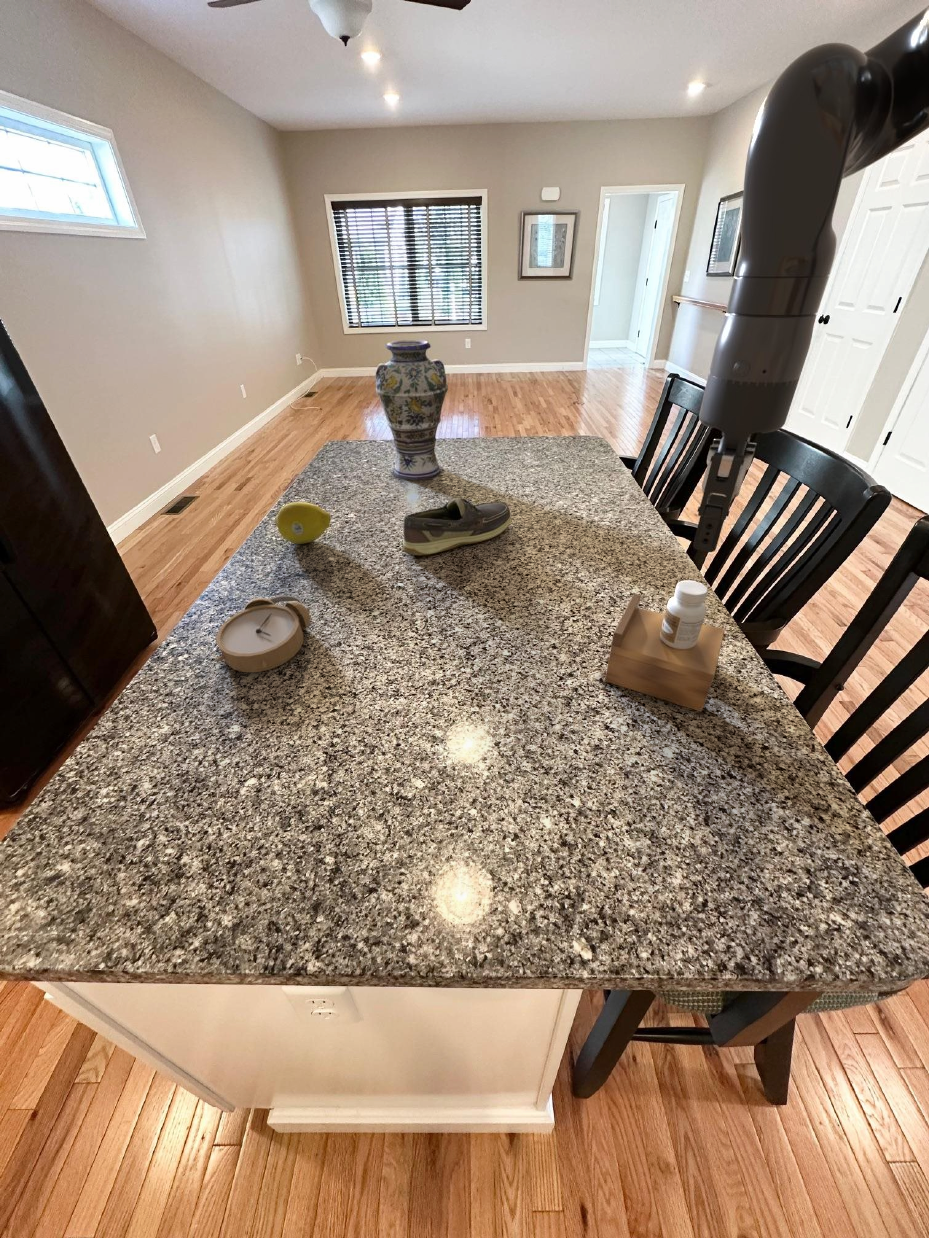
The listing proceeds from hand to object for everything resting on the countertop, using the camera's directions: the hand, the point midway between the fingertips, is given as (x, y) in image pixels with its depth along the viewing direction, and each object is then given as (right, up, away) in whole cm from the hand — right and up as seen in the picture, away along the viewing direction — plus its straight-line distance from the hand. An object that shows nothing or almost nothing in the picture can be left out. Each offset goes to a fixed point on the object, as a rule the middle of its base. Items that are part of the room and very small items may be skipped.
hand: (709, 533), depth 56 cm
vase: (-39, +29, +78) cm, 92 cm away
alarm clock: (-55, -13, +20) cm, 60 cm away
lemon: (-58, +6, +46) cm, 75 cm away
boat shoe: (-27, +7, +46) cm, 54 cm away
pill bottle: (0, -12, +9) cm, 15 cm away
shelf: (-1, -17, +13) cm, 21 cm away
